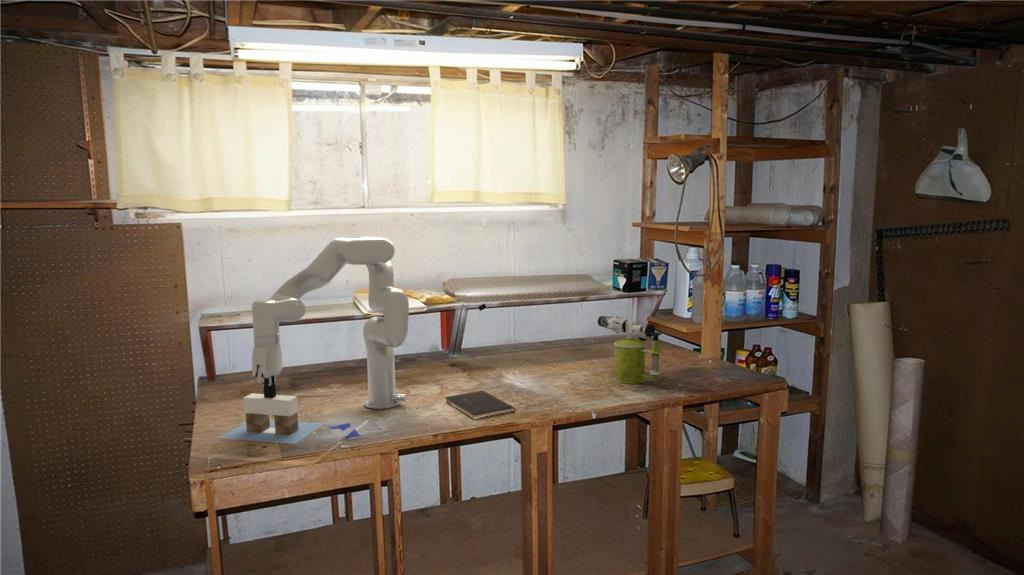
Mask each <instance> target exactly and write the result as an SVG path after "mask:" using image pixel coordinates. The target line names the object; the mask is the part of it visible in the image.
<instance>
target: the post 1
mask: <svg viewBox="0 0 1024 575" xmlns="http://www.w3.org/2000/svg"><path fill="white" fill-rule="evenodd" d="M270 420H271V419H270V415H265V414H252V413H245V423H246V428H247V432H255V433H262V432H263V431H265V430H267V429H268V428H270Z"/></svg>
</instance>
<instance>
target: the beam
mask: <svg viewBox="0 0 1024 575" xmlns="http://www.w3.org/2000/svg"><path fill="white" fill-rule="evenodd" d="M298 406H299V405H298V396H297V395H283V394H276V397H274V398H265V397H264V393H253V392H252V393H250V394H248V395H246V396H244V397H243V411H244V414H246V413H252V414H265V415H269V416H274V415H279V416H292V415H293V414H295V413H297V414H298V412H299V408H298Z"/></svg>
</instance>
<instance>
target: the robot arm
mask: <svg viewBox="0 0 1024 575" xmlns="http://www.w3.org/2000/svg"><path fill="white" fill-rule="evenodd" d="M394 256H395V245H394V243H393V242H392V241H391V240H389V239H388V238H384V237H375V236H373V237H372V236H362V237H359V238H349V237H336V238H334V239H332V240H331V241H330V242H329V243H328V244H327V245H326V246H325V247H324V249H322V251H321V252H320V253H319V254H318V255H317V256H316V257H315V259H313V261H312V262H311V263H309V265H308V266H307V267H306V268H304V269H302V270H300V271H299V272H298V273H296V274H295V275H293V276H291V277H290V278H289V279H288V280H286V281H285V282H284V283H283V284H282V285H281V286H280V287H279V288H278V289H277V291H275V293H273V294H272V296H271V297H270V299H258V300H255V301H253V303H252V304H251V313H252V329H253V347H252V353H251V354H252V355H251V370H252V371H251V372H252V373H251V374H252V377H253V378H257V379H256V380H257V383H259V384H261V385H262V386H263V394H264V397H265V398H274V397H276V395H277V392H276V391H277V388H276V384H277V377H279V376H280V373H281V371H282V370H283V357H282V356H283V355H282V348H281V341H280V340H281V338H280V322H284V323H286V322H289V323H290V322H296V321H300V320H301V319H302V318H304V316H305V315H306V311H307V310H306V309H307V308H306V305H305V303H304V302H303V301H302V300H300V299H301V298H302V297H303V296H305V295H306V294H308V293H310V292H312V291H315V290H319V289H321V288H324V287H326V286H327V285H329V284H330V282H332V281H333V279H334V278H335V277H336V276H337V275H338V273H339V272H340V271H341V270H342V269H343V268H344V267H345V266H346V265H352V266H355V265H358V266H364V265H365V266H366V269H367V271H368V302H367V303H368V307H369V309H370V310H371V311H373V312H375V313H377V314H381V315H382V314H383V316H372V317H370V318H368V319H367V320H366V322H365V323H364V326H363V333H362V334H363V339H364V343H365V348H366V366H367V385H368V386H367V388H368V389H367V390H368V398H367V399H366V400H364V406H365V407H366V408H368V409H372V408H373V410H374V409H375V410H383V409H385V410H386V409H390V408H395V407H397V406H399V405H400V404H401V402H406V401H407V395H406V394H400V393H399V390H398V389H396V371H395V369H396V367H395V361H396V360H395V353H394V348H398V347H401V346H402V345H404V343H406V340H407V336H408V331H409V312H410V310H409V309H410V308H409V307H410V303H409V299H408V296H407V294H406V293H405V292H404V291H403V290H402V289H399V288H395V287H394V286H395V285H394V283H395V282H394V281H395V280H394V279H395V278H394V269H393V265H392V262H391V260H392V259H393V258H394Z"/></svg>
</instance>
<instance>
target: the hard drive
mask: <svg viewBox="0 0 1024 575" xmlns="http://www.w3.org/2000/svg"><path fill="white" fill-rule="evenodd" d="M351 427H352V425H351V423H344V424H343V423H342V424H337V425H331V426H328V429H330V430H337V429H338V430H340V431H342V432H343V431H346V430H347V429H349V428H351ZM350 439H351V440H356V439H361V435H360V434H359V432H358V431H357V429H356V428H354V429H353V430H352V431H351V432H350V433H348V434H346V435H345V436H344V437H342V438H341V439H340V440H339V442H344V440H345V441H350Z"/></svg>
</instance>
